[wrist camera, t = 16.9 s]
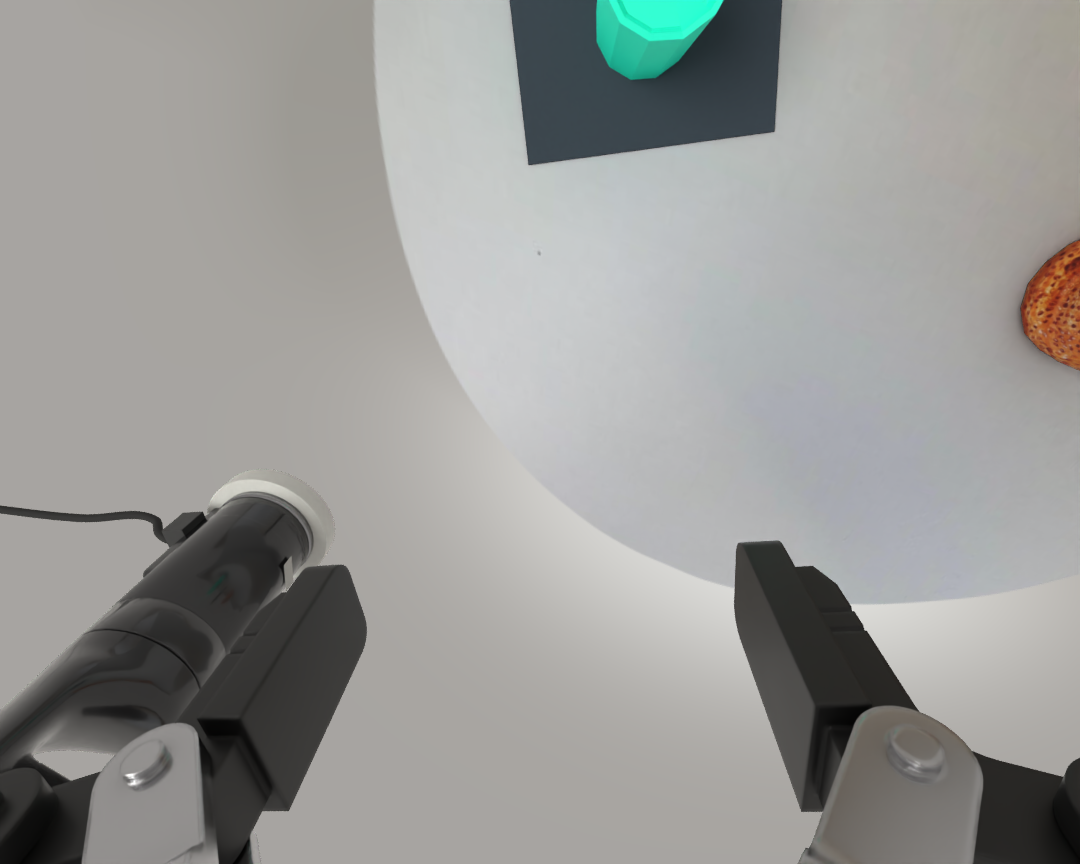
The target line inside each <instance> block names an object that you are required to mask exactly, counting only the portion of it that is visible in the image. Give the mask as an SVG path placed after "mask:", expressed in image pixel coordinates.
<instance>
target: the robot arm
mask: <svg viewBox="0 0 1080 864" xmlns="http://www.w3.org/2000/svg"><path fill="white" fill-rule="evenodd" d="M0 513H2V514H10V515H17V516H25V517H33V518H41V519H51V520H61V521H73V522H101V521H110V520H120V519H141V520H146V521H148V522H151V523H152V524H153V531H154V534H155V536H156V537H157V538H158V539H159V540H161V541H162V542H164V543H167V544H168V545H169V547H170V548H169V549H168V550H167V551H166V552H165V553H164V554H162V555H161V556H160V557H159V558H158V559H157V560H156V561H155V562H153V563H152V564H151V565H150V566H149V567H148V568H147V569H146V570H145V571H144V573H143V579H142V580H141V581H140V582H139V583H138V584H137V585H136V586H134V587H133V588H132V589H131V590H130V591H129V592H128V593H127V594H126V595H125V596H123V597H122V598H121V599H120V600H119V601H118V602H117V603H116V604H115V605H114V606H112V608H110V609H109V610H108V611H107V612H106V613H105V614H104V615H103V616H102V617H101V618H99V619H98V620H97V621H96V622H95V623H94V624H93V625H92V626H91V627H90V628H89V629H87V630H86V631H85V632H84V633H83V634H82V635H81V636H80V637H79V638H77V639H76V640H75V641H74V642H73V643H72V644H71V645H70V646H69V647H68V648H66V649H65V650H64V651H63V652H62V653H61V654H60V655H59V656H58V657H57V658H56V659H55V660H54V661H53V662H52V663H51V664H50V665H49V666H47V667H46V668H45V669H44V670H43V671H42V672H41V673H40V674H39V675H38V676H37V677H36V678H35V679H34V680H33V681H32V682H31V683H30V684H28V685H27V686H26V687H25V688H24V689H23V690H22V691H21V692H20V693H19V694H17V695H16V696H15V697H14V698H13V699H12V700H11V701H10V702H9V703H8V704H6V705H5V706H4V707H3V708H2V709H1V710H0V864H261V859H260V852H259V845H258V839H257V835H256V833H255V832H254V830H253V828H254V826H255V824H256V822H257V820H258V818H259V816H260V814H261V812H262V811H289V809H290V807H291V805H292V803H293V801H294V799H295V796H296V794H297V792H298V790H299V788H300V785H301V783H302V781H303V779H304V777H305V775H306V773H307V771H308V768H309V766H310V764H311V762H312V760H313V758H314V755H315V753H316V751H317V749H318V747H319V744H320V742H321V740H322V738H323V736H324V734H325V732H326V729H327V727H328V725H329V723H330V721H331V719H332V716H333V714H334V712H335V710H336V708H337V705H338V703H339V701H340V699H341V697H342V695H343V693H344V691H345V688H346V686H347V684H348V682H349V680H350V677H351V675H352V673H353V671H354V669H355V667H356V664H357V662H358V660H359V658H360V656H361V654H362V652H363V649H364V646H365V642H366V634H367V627H366V620H365V616H364V613H363V610H362V607H361V605H360V602H359V599H358V596H357V593H356V590H355V587H354V584H353V581H352V578H351V575H350V572H349V570H348V569H347V567H346V566H344V565H329V566H310V567H306V568H305V569H304V570H303V571H302V572H301V573H300V574H299V576H298V577H297V579H296V580H295V582H294V583H293V576H294V575H295V573H296V572H297V571H298V569H299V568H300V567H301V566H302V565H303V564H304V563H305V562H306V560H307V559H308V557H309V556H310V554H311V552H312V549H313V543H314V540H313V533H312V530H311V527H310V525H309V523H308V522H307V520H306V518H305V517H304V516H303V515H302V513H301V512H300V511H299V510H298V509H296V508H295V507H294V506H293V505H292V504H290V503H289V502H287V501H285V500H284V499H282V498H280V497H277V496H275V495H272V494H269V493H264V492H255V491H254V492H244V493H240V494H237V495H235V496H233V497H232V498H230V499H229V500H228V501H227V502H225V503H224V504H223V505H222V506H221V507H220V508H214V509H213V510H212V511H211V512H210V513H208V514H207V515H206V516H204V514H203V512H190V513H182V514H181V515H180V516H179V517H178V518H177V519H175V520H174V521H173V522H172V523H171V524H169V525H168V526H167V527H166V528H164V529H163V526H162V522H161V519H160V518H159V517H157V516H155V515H152V514H149V513H145V512H140V511H127V512H126V511H125V512H115V513H106V514H93V515H92V514H89V515H86V514H85V515H84V514H68V513H58V512H48V511H39V510H30V509H22V508H14V507H7V506H0ZM292 583H293V584H292ZM291 584H292V586H291V587H290V585H291ZM285 587H286V591H287V589H288V588H289V587H290V588H289V590H288V591H287V592H285V593H282V591H283V590H284V588H285ZM734 609H735V618H736V624H737V628H738V633H739V636H740V639H741V642H742V645H743V648H744V651H745V653H746V656H747V659H748V662H749V665H750V668H751V671H752V673H753V676H754V679H755V682H756V685H757V687H758V690H759V693H760V696H761V699H762V702H763V704H764V707H765V710H766V713H767V716H768V719H769V721H770V724H771V727H772V730H773V733H774V735H775V738H776V741H777V744H778V747H779V750H780V752H781V755H782V758H783V761H784V764H785V767H786V769H787V772H788V775H789V778H790V780H791V784H792V786H793V789H794V792H795V795H796V798H797V800H798V803H799V806H800V809H801V812H817V811H818V812H823V813H822V816H821V819H820V822H819V825H818V827H817V830H816V833H815V835H814V838H813V841H812V843H811V845H810V847H809V849H808V848H806V849H805V850H804V852H803V853H802V855H801V858H800V860H799V862H798V864H1080V758H1079V759H1077V760H1075V761H1073V762H1072V763H1071V764H1070V765H1069V766H1068V768H1067V770H1066V773H1065V775H1064V777H1061V776H1057V775H1053V774H1049V773H1046V772H1041V771H1038V770H1033V769H1030V768H1025V767H1022V766H1018V765H1014V764H1010V763H1006V762H1002V761H998V760H995V759H992V758H988V757H985V756H983V755H980V754H978V753H975V752H973V751H971V749H970V748H969V747H968V746H967V745H966V744H965V742H964V741H963V740H962V739H961V738H960V737H959V736H957V735H956V734H955V733H954V732H953V731H952V730H950V729H949V728H948V727H946V726H945V725H943V724H942V723H940V722H939V721H937V720H935V719H933V718H932V717H930V716H928V715H926V714H923V713H920V712H919V710H918V709H917V708H916V707H915V705H914V704H913V702H912V700H911V699H910V697H909V696H908V694H907V693H906V691H905V690H904V688H903V686H902V685H901V683H900V682H899V680H898V679H897V677H896V676H895V674H894V673H893V671H892V669H891V668H890V667H889V665H888V663H887V662H886V660H885V658H884V657H883V655H882V654H881V652H880V651H879V649H878V648H877V646H876V644H875V643H874V641H873V640H872V638H871V637H870V635H869V634H868V632H867V631H865V630H864V628H863V624H862V623H861V621H860V620H859V618H858V616H857V615H856V613H855V612H854V611H852V609H851V606H850V604H849V602H848V601H847V599H846V598H845V596H844V595H843V593H842V592H841V590H840V588H839V587H838V585H837V584H836V583H834V582H833V581H832V580H830V579H829V578H828V577H827V576H825V575H824V574H823V573H821V572H820V571H819V570H817V569H816V568H815V567H814V566H804V567H795V566H794V564H793V562H792V560H791V558H790V557H789V555H788V553H787V551H786V550H785V548H784V546H783V545H782V543H781V542H780V541H761V542H744V543H738V545H737V549H736V569H735V597H734ZM66 750H72V751H87V752H94V753H103V754H110V755H115V756H114V757H113V758H112V759H111V760H110V761H109V762H108V763H107V765H106V766H105V767H104V768H103V770H102V771H101V772H98V773H95V774H92V775H88V776H85V777H82V778H79V779H76V780H73V781H72V780H70V779H68V778H66V777H65V776H63V775H62V774H60V773H58V772H56V771H55V770H53V769H51V768H49V767H47V766H46V765H44V764H43V763H39V761H37V760H36V759H35V758H33V755H34V754H38V753H44V752H51V751H66Z"/></svg>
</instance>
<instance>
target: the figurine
mask: <svg viewBox="0 0 1080 864" xmlns="http://www.w3.org/2000/svg"><path fill="white" fill-rule="evenodd" d="M1021 316H1022V322H1023V328H1024V333H1025V334H1026V335H1027V336H1028V337H1029V338H1030V340H1031V341H1032V342H1033V343H1034V344H1035V345H1036V346H1037V347H1038V348H1039V350H1041V351H1043V352H1045V353H1046V354H1048V355H1050V356H1051V357H1053V358H1054V359H1056V360H1057V361H1058V362H1061V363H1063V364H1066V365H1068V366H1070V367H1072V368H1075V369H1077V370H1080V240H1079V241H1076V242H1074V243H1071V244H1069V245H1067V246H1066V247H1065V248H1064V249H1062V250H1061V251H1060V252H1058V253H1057V254H1056V255H1055V256H1053V257H1052V258H1051V259H1049V260H1048V261H1047V262H1046V263H1045V264H1044V265H1043V266H1042V267H1041V269H1040V270H1039V271H1038V272H1037V274H1036V275H1035V276H1034V277H1033V278H1032V280H1031V281H1030V282H1029V283H1028V286H1027V289H1026V293H1025V296H1024V299H1023V302H1022V305H1021Z"/></svg>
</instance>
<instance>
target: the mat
mask: <svg viewBox="0 0 1080 864" xmlns="http://www.w3.org/2000/svg"><path fill="white" fill-rule="evenodd" d="M510 6H511V15H512V24H513V32H514V41H515V50H516V59H517V67H518V76H519V85H520V94H521V102H522V111H523V120H524V129H525V137H526V146H527V155H528V164H529V165H532V164H539V163H547V162H554V161H562V160H569V159H576V158H584V157H591V156H598V155H606V154H613V153H620V152H628V151H635V150H642V149H650V148H657V147H665V146H672V145H679V144H687V143H694V142H701V141H709V140H716V139H723V138H731V137H738V136H745V135H753V134H760V133H767V132H774V128H775V111H776V93H777V76H778V59H779V41H780V24H781V7H782V0H723V2H722V4H721V6H720V8H719V10H718V11H717V13H716V15H715V16H714V17H713V19H712V20H711V21H710V22H709V24H708V25H707V26H706V27H705V29H704V30H703V31H702V32H701V34H700V35H699V36H698V37H697V39H696V40H695V41H694V42H693V44H692V45H691V46H690V47H689V49H688V50H687V51H686V52H685V54H684V55H683V56H682V57H681V59H680V60H679V61H678V62H677V63H675V64H674V65H673V66H671V67H670V68H669V69H667V70H666V71H665V72H663V73H662V74H660V75H659V76H658V77H656V78H649V79H636V80H630V79H628V78H627V77H625V76H623V75H622V74H620V73H618V72H617V71H615V70H613V69H612V68H610V67H609V65H608V63H607V62H606V60H605V58H604V56H603V54H602V52H601V50H600V48H599V46H598V44H597V33H596V8H597V0H510Z"/></svg>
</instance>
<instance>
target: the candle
mask: <svg viewBox="0 0 1080 864" xmlns="http://www.w3.org/2000/svg"><path fill="white" fill-rule="evenodd" d="M722 2H723V0H597V8H596V33H597V44H598V46H599V48H600V50H601V52H602V54H603V56H604V58H605V60H606V62H607V63H608V65H609V67H610V68H612V69H613V70H615V71H617V72H618V73H620V74H622V75H623V76H625V77H627V78H628V79H630V80H636V79H649V78H656V77H658V76H659V75H660V74H662V73H663V72H665V71H666V70H667V69H669V68H670V67H671V66H673V65H674V64H675V63H677V62H678V61H679V60H680V59H681V57H682V56H683V55H684V54H685V52H686V51H687V50H688V49H689V47H690V46H691V45H692V44H693V42H694V41H695V40H696V39H697V37H698V36H699V35H700V34H701V32H702V31H703V30H704V29H705V27H706V26H707V25H708V24H709V22H710V21H711V20H712V19H713V17H714V16H715V15H716V13H717V11H718V10H719V8H720V6H721V4H722Z"/></svg>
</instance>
